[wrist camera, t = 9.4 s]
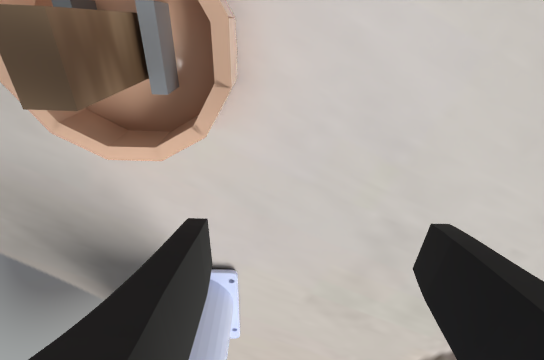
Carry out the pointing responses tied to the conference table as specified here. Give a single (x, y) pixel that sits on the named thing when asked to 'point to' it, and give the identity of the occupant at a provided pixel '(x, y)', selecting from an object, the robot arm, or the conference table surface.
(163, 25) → the round tan tray
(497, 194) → the conference table surface
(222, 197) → the conference table surface
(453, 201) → the conference table surface
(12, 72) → the long tan beam
